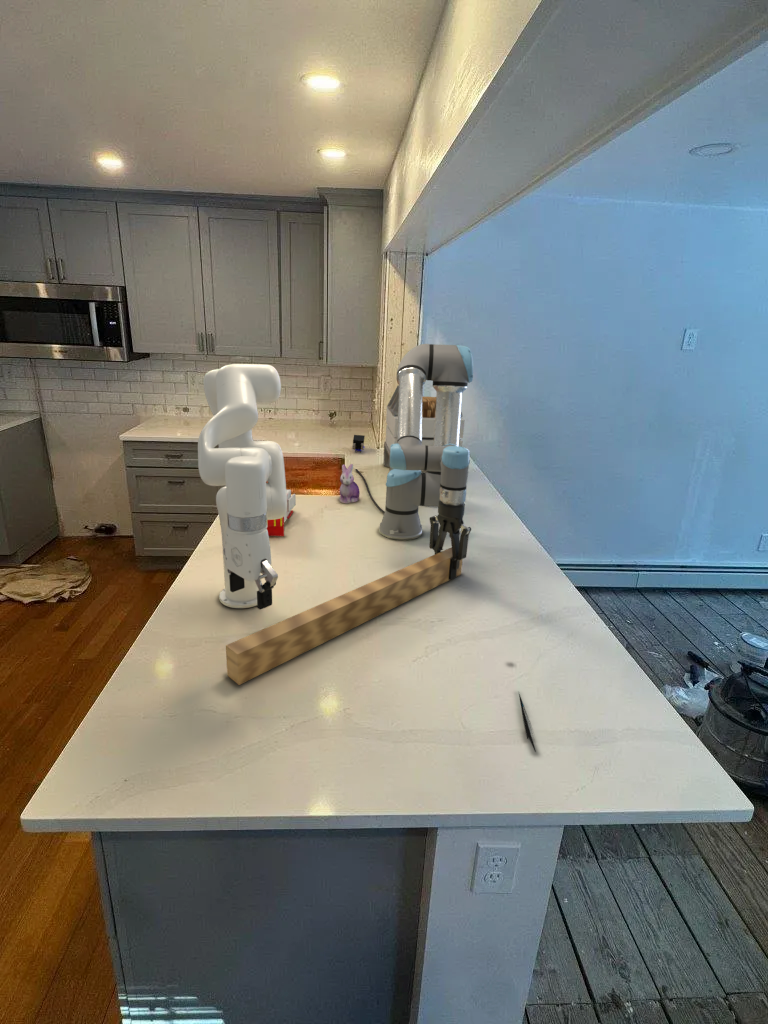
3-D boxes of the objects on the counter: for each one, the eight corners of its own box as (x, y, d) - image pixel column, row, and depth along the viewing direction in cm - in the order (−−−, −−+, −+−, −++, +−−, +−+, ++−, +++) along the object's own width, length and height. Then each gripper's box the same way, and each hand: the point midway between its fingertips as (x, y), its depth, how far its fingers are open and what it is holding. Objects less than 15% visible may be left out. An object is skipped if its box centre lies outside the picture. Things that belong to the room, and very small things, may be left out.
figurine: (343, 505, 225) (344, 468, 220) (333, 497, 234) (334, 462, 229) (364, 502, 230) (366, 466, 225) (354, 495, 238) (355, 460, 233)
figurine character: (364, 456, 306) (364, 446, 320) (364, 442, 303) (365, 433, 317) (351, 455, 306) (352, 446, 320) (352, 442, 303) (353, 433, 316)
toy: (297, 484, 217) (286, 498, 188) (297, 518, 220) (286, 537, 190) (265, 483, 217) (250, 497, 187) (266, 517, 219) (250, 537, 190)
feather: (511, 668, 129) (516, 662, 128) (535, 756, 102) (542, 749, 102) (505, 664, 129) (510, 658, 128) (527, 751, 102) (534, 744, 101)
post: (449, 569, 174) (451, 547, 172) (461, 574, 171) (463, 551, 169) (227, 675, 120) (225, 645, 118) (239, 685, 117) (237, 654, 115)
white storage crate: (382, 463, 289) (386, 382, 275) (445, 464, 293) (451, 384, 279) (390, 482, 257) (394, 392, 243) (460, 483, 261) (468, 394, 247)
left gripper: (206, 512, 113) (212, 589, 119) (257, 538, 102) (260, 620, 108) (239, 505, 119) (242, 578, 124) (290, 528, 108) (291, 607, 113)
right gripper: (419, 496, 164) (414, 569, 172) (469, 512, 153) (461, 589, 161) (436, 491, 169) (430, 562, 177) (485, 506, 158) (476, 581, 166)
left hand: (250, 598), depth 116 cm, fingers open, 9 cm apart
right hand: (445, 575), depth 169 cm, fingers closed on post, 4 cm apart
